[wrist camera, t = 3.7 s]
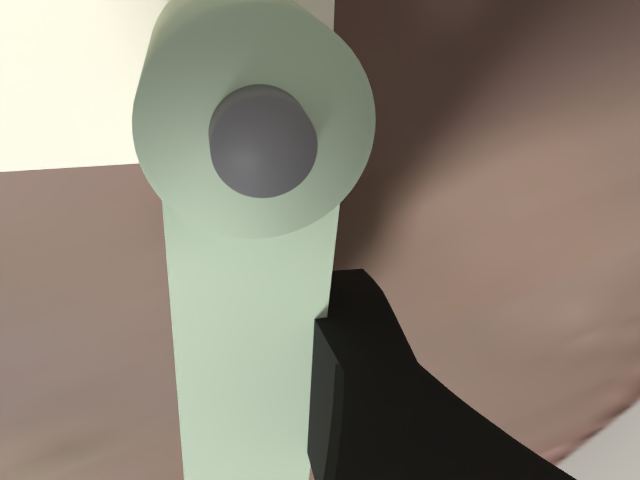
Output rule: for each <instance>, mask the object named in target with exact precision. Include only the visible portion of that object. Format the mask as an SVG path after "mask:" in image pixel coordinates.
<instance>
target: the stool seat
mask: <svg viewBox="0 0 640 480" xmlns="http://www.w3.org/2000/svg"><path fill="white" fill-rule="evenodd" d="M169 1H170V0H0V172H5V171H21V170H38V169H54V168H70V167H86V166H102V165H119V164H135V163H139V161H138V158H137V155H136V151H135V147H134V141H133V135H132V113H133V104H134V99H135V95H136V91H137V87H138V84H139V80H140V76H141V72H142V68H143V65H144V61H145V57H146V53H147V49H148V46H149V42H150V38H151V34H152V30H153V28H154V25H155V23H156V21H157V18H158V17H159V15H160V13H161V12H162V10H163V8H164V7H165V6H166V5H167V3H168V2H169ZM294 1H295V2H296V3H298V4H299V5H300V6H302V7H303V8H304V9H305V10H307V11H308V12H309V13H311V14H312V15H313V16H315V17H316V18H317V19H319V20H320V21H321V22H322V23H324V24H325V25H326V26H328V27H329V28H330V29H331V30H332V31H334V5H335V0H294Z"/></svg>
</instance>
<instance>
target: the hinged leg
mask: <svg viewBox="0 0 640 480" xmlns="http://www.w3.org/2000/svg"><path fill="white" fill-rule="evenodd" d="M375 124H376V117H375V104H374V98H373V93H372V89H371V86H370V83H369V80H368V77H367V75H366V73H365V71H364V69H363V67H362V65H361V63H360V61H359V60H358V58H357V57H356V55H355V54H354V52H353V51H352V49H351V48H350V47H349V46H348V45H347V44H346V43H345V42H344V41H343V39H342V38H341V37H340V36H338V35H337V34H336V33H335V32H334V31H332V30H331V29H330V28H329V27H328V26H326V25H325V24H324V23H322V22H321V21H320V20H319V19H317V18H316V17H315V16H313V15H312V14H311V13H309V12H308V11H307V10H305V9H304V8H303V7H302V6H300V5H299V4H298V3H296V2H295V1H294V0H170V1H169V2H168V3H167V5H166V6H165V7H164V8H163V10H162V12H161V13H160V15H159V17H158V18H157V21H156V23H155V25H154V28H153V30H152V34H151V38H150V42H149V46H148V49H147V53H146V57H145V61H144V65H143V68H142V72H141V76H140V80H139V84H138V87H137V91H136V95H135V99H134V104H133V113H132V135H133V141H134V147H135V151H136V155H137V158H138V161H139V164H140V166H141V168H142V170H143V172H144V175H145V177H146V179H147V180H148V182H149V183H150V185H151V186H152V188H153V189H154V191H155V192H156V193H157V195H158V196H159V197H160V198H161V199H162V206H163V219H164V231H165V244H166V256H167V269H168V282H169V294H170V307H171V319H172V332H173V344H174V357H175V369H176V382H177V394H178V407H179V419H180V432H181V444H182V457H183V469H184V480H309V472H310V461H309V457H308V454H307V443H308V425H309V407H310V389H311V371H312V353H313V336H314V319H316V318H326V317H327V313H328V304H329V295H330V287H331V278H332V269H333V260H334V251H335V242H336V234H337V225H338V216H339V207H340V202H341V201H343V200H344V199H345V197H346V196H347V195H348V194H349V192H350V191H351V190H352V189H353V188H354V186H355V184H356V183H357V181H358V180H359V178H360V177H361V175H362V173H363V171H364V168H365V166H366V164H367V162H368V159H369V156H370V153H371V150H372V146H373V141H374V136H375Z"/></svg>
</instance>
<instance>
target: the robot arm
mask: <svg viewBox="0 0 640 480" xmlns="http://www.w3.org/2000/svg"><path fill="white" fill-rule="evenodd" d="M307 454H308V457H309V461H310V464H311V468H312V472H313V475H314V479H315V480H576V479H575V478H573V477H572V476H570V475H568V474H567V473H565V472H564V471H562V470H561V469H559V468H557V467H556V466H554V465H553V464H551V463H550V462H548V461H546V460H545V459H543V458H542V457H540V456H539V455H537V454H536V453H534V452H533V451H531V450H530V449H528V448H527V447H525V446H524V445H522V444H521V443H520V442H518V441H517V440H515V439H514V438H512V437H511V436H510V435H508V434H507V433H506V432H504V431H503V430H501V429H500V428H499V427H497V426H496V425H495V424H493V423H492V422H490V421H489V420H488V419H486V418H485V417H484V416H482V415H481V414H480V413H478V412H477V411H475V410H474V409H473V408H471V407H470V406H469V405H468V404H466V403H465V402H464V401H462V400H461V399H460V398H459V397H457V396H456V395H455V394H454V393H452V392H451V391H450V390H449V389H448V388H446V387H445V386H444V385H443V384H442V383H441V382H439V381H438V380H437V379H436V378H435V377H434V376H432V375H431V374H430V373H429V372H428V371H427V370H425V369H424V368H423V367H422V366H421V365H420V364H419V363H418V362H417V360H416V358H415V356H414V354H413V351H412V349H411V347H410V345H409V343H408V341H407V339H406V337H405V335H404V333H403V331H402V329H401V327H400V325H399V322H398V320H397V318H396V316H395V314H394V312H393V310H392V308H391V306H390V304H389V302H388V300H387V298H386V297H385V295H384V293H383V291H382V290H381V288H380V287H379V286H378V285H377V283H376V282H375V281H374V280H373V279H372V278H371V277H370V276H369V275H368V274H367V273H366V272H365V271H364V269H352V270H339V271H332V278H331V287H330V295H329V304H328V313H327V317H326V318H316V319H314V336H313V353H312V371H311V389H310V407H309V425H308V443H307Z"/></svg>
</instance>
